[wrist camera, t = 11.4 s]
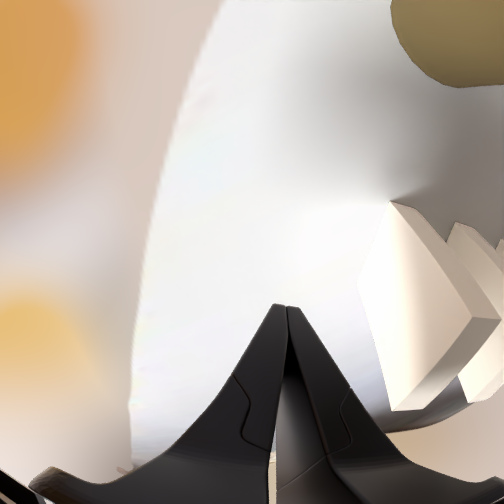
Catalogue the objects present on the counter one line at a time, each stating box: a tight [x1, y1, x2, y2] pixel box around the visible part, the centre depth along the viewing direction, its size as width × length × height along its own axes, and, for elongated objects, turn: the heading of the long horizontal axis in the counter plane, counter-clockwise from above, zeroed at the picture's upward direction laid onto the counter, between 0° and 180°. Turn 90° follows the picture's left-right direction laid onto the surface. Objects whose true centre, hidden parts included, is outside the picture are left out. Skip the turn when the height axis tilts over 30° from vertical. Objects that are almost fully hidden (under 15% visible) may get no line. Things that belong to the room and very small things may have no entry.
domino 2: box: [446, 222, 504, 403], centre depth 11 cm, size 2×5×8 cm, turn 170°
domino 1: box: [357, 201, 502, 411], centre depth 11 cm, size 2×5×8 cm, turn 171°
